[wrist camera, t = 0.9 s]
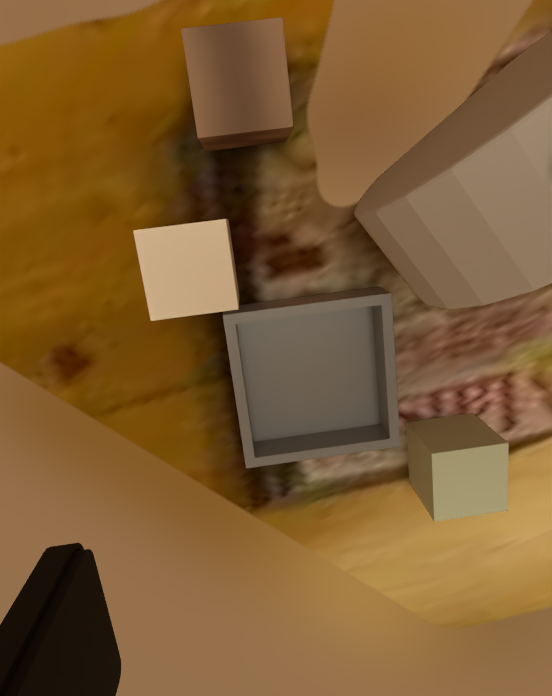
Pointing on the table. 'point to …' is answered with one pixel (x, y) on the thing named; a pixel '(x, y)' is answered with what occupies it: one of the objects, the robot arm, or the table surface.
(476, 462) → the sage block
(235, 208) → the table surface
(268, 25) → the walnut block
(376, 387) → the grey tray
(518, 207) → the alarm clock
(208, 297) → the cream block
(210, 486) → the table surface
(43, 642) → the robot arm
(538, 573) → the table surface
